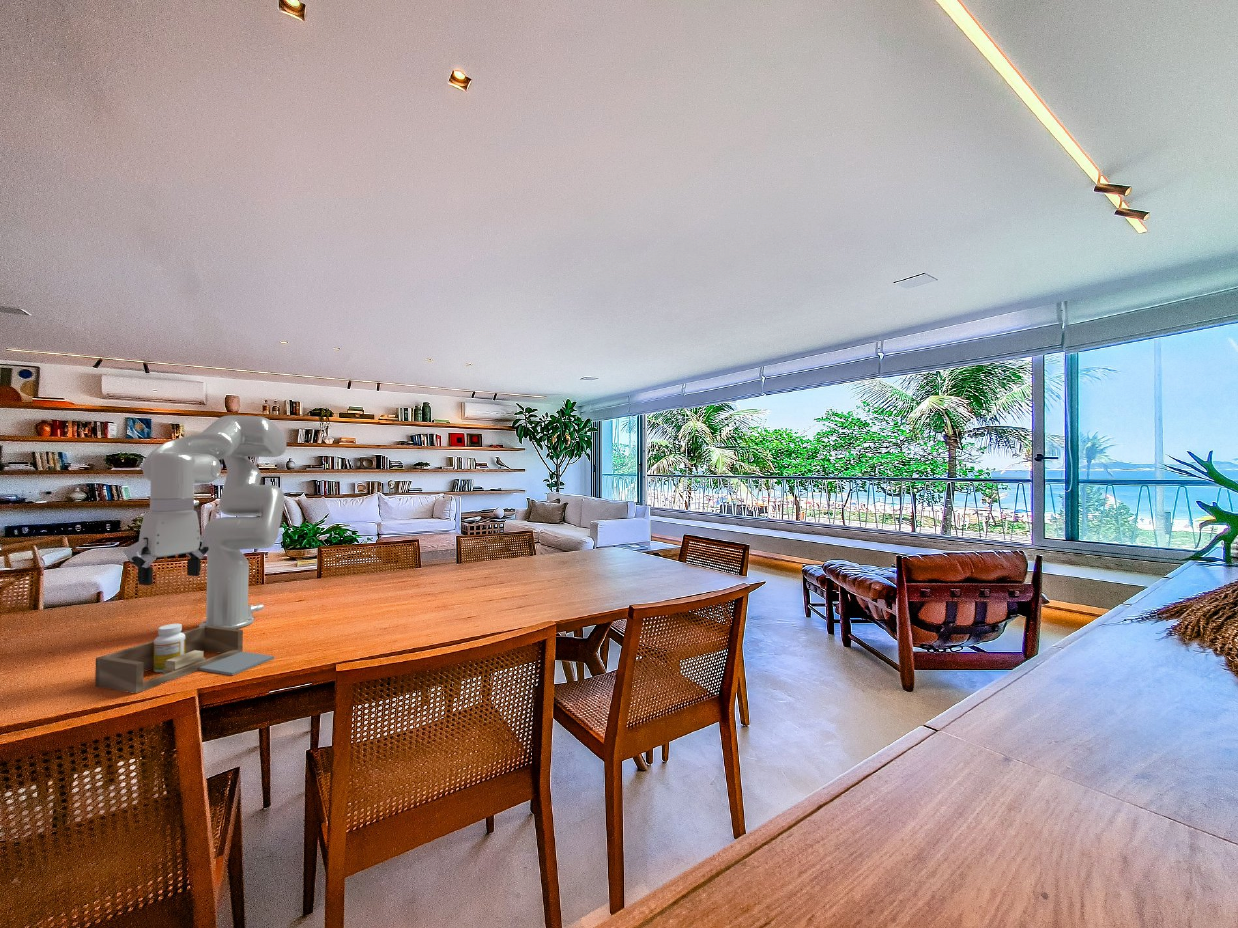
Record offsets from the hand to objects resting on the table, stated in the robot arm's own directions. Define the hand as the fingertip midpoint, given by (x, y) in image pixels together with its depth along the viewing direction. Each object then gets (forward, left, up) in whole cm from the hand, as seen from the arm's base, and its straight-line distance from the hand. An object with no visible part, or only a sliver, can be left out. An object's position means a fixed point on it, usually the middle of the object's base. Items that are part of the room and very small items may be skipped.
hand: (170, 579), depth 112 cm
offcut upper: (0, +5, -19) cm, 19 cm away
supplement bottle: (0, 0, -21) cm, 21 cm away
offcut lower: (0, +5, -21) cm, 21 cm away
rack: (0, +1, -21) cm, 21 cm away
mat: (-6, +12, -21) cm, 25 cm away
